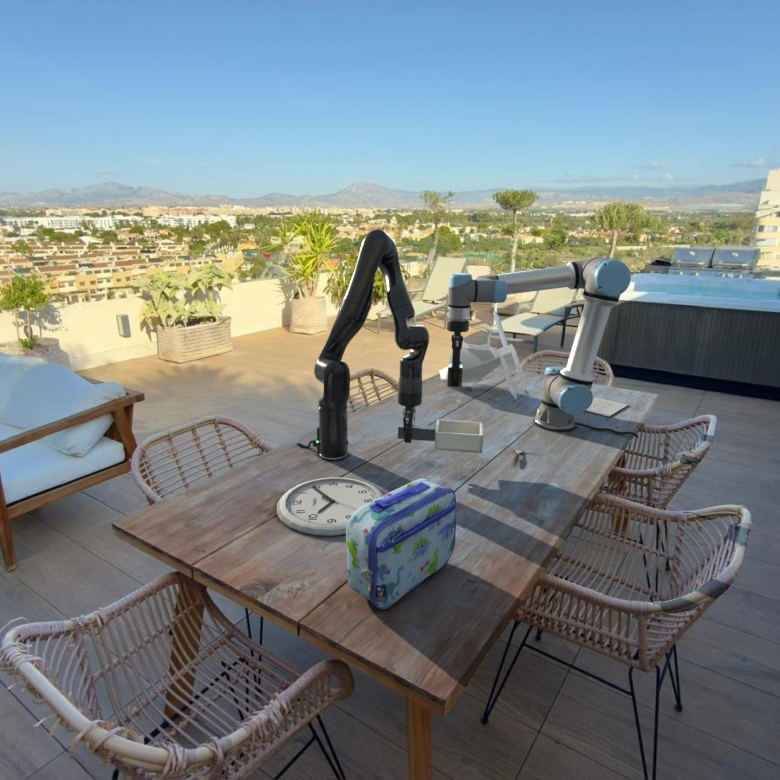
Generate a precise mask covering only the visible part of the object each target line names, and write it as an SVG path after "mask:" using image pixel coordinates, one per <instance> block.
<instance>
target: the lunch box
mask: <svg viewBox="0 0 780 780" xmlns="http://www.w3.org/2000/svg"><path fill="white" fill-rule="evenodd" d="M456 498H457V496H456V493H455V491H454V489H452V488H450V487H443V486H441V485H439V484H438V483H436V482H433V481H432V480H430V479H427V478H423V477H422V478H418V479H416V480H413V481H411V482H409V483H406V484H405V485H402V486H400V487H398V488H396V489H394V490H392V491H390V492H388V493H386V494H384V496H382V497H380V498H378V499H376V500H374V501H372V502H370V503H368V504H366V505H364V506H362V507H360V508H358V509H357V510H356V511H355V512H354V513H353V514H352V515H351V517H350V519H349V521H348V524H347V528H346V534H345V547H346V549H345V550H346V572H347V573H346V575H347V584H348V587H349V589H350V590H351V591H353V592H355V593H357V594H358V595H361V596H363V597H364V598H365V599H367V600H368V601H369V602H371V604H372V605H373V606H374V607H376V608H377V609H380V610H386V609H389V608H391V607H393V605H395V603H397V602H398V601H399V600H400V599H402V598H403V597H404V596H405V595H408V593H410V592H411V591H412V590H413V589H415V588H416V587H417V586H419V585H420V584H421V583H423V581H424V580H425V579H427V578H428V577H430V576H431V575H433V574H435V573H437V572H438V571H439V570H441V569H442V568H443V567H444V566H446V564H447V563H448V562H449V560H450V559H451V556H452V555H453V552H454V548H455V544H456V531H457V530H456V529H457V499H456Z"/></svg>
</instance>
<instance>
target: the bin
mask: <svg viewBox="0 0 780 780" xmlns="http://www.w3.org/2000/svg"><path fill="white" fill-rule="evenodd" d="M483 427H484V426H483V422H482V421H470V420H469V421H468V420H452V419H440V418H439V419H438V418H437V419H436V424H435V425H422V424H414V425H412V438H411V441H423V442H424V441H425V442H434V450H435V451H444V452H445V451H447V452H459V453H460V452H462V453H473V454H474V453H475V454H483V447H484V446H483V445H484V429H483ZM406 428H408V427H406ZM403 429H404V427H403V423H398V426H397V439H398V440H404V437H405V432H404V431H403Z"/></svg>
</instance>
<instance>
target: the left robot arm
mask: <svg viewBox="0 0 780 780" xmlns="http://www.w3.org/2000/svg"><path fill="white" fill-rule="evenodd" d="M360 245H361V246H360V249H359V252H358V256H357V260H356V264H355V267H354V270H353V273H352V275H351V279H350V281H349V283H348V286H347V287H346V288H347V289H346V291H345V293H344V296H343V298H342V301H341V302H340V306H339V309H338V311H337V314H336V317H335V319H334V321H333V325H332V327H331V329H330V332H329V335H328V337H327V339H326V341H325V343H324V346H323V347H322V349H321V351H320V353H319V355H318V357H317V359H316V361H315V364H314V366H313V374H314V377H315V378H316V380H317V381H318V382H319V383H321V384H323V392H322V393H323V394H322V395H321V396H319V398H318V427H316V438H313V439H312V440H310V441H309V442H308V445H304V444H302V443H299V442H298V443H296V445H297V446H299V447H301V448H304V449H309V448H310V447H311V445H312V447H314V448H316V451H317V456H319V457H320V458H322V459H323V460H326V461H339V460H342V459H345V458H346V457H348V455H349V451H348V449H349V448H348V446H349V439H348V401H349V398H350V395H351V392H350V391H351V370H350V367H349V365H348V363H347V362H345V361H344V360H343V357H344V354H345V352H346V349H347V347H348V345H349V344H350V343H351V342H352V340H353V339H354V338H355V337H356V335H357V334H358V333H359V332H360V331H361V330H362V328H363V327H364V326H365V324H366V322H367V319H368V316H369V314H370V312H371V309H372V305H373V300H374V283H375V282H374V281H375V277H376V273H377V271H378V270H379V271H380V273H381V275H382V278H383V281H384V288H385V297H386V301H387V304H388V305H387V306H388V307H389V311H390V314H391V316H392V323H393V339H394V342H395V345H396V346H397V347H398V348H399V350H403V351H409V350H410V351H409V353H408V354H406V355H404V356H402V357H401V358H400V360H399V375H398V383H397V384H398V385H397V387H398V388H397V403H398V405H400V406H403V409H402V424H403V427H404V429H403V431H404V432H405V437H404V439H403V440H404V441H403V442H404V443H405V444H411V443H412V440H411V438H412V425H415V421H416V413H417V408H416V407H418V406H421V405H422V404H423V402H422V401H423V364H424V360H425V357H426V354H427V350H428V347H429V343H430V333H429V330H428V329H427V327H425V326H424V325H420V324H418V325H408V322H411V321H412V320H413V319H414V318H415V316H416V310H415V308H414V305H413V302H412V299H411V297H410V294H409V292H408V288H407V286H406V283H405V280H404V277H403V272H402V269H401V264H400V258H399V253H398V248H397V244H396V242H395V240H394V239H393V238H392V237H391V236H390V235H389V234H388V233H387V232H385V230H383V229H380V228H374V229H372V230H370V231H368V232H367V234H366V235H365V236H364V238H363V240H362V242H361V244H360ZM406 427H408V428H406Z"/></svg>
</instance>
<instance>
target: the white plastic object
mask: <svg viewBox="0 0 780 780" xmlns="http://www.w3.org/2000/svg"><path fill="white" fill-rule="evenodd" d="M492 315H493V319H494V321H495V324H496V325H495V326H496V328H497V332H498V335H499V338H500V342H501V345H502V347H500V348H498V349H496V350H495V349H493V348H492V347H491V346H490V344H489V343H488V342H487V343H483V344H479V345H473V346H469V345H468V343H466V342H465V340H464V339H463V342H462V349H461V350H460V362H461V364H460V365H463V372H462V384H467V383H468V384H469V383H473V384H477V383H480V382H482V381H484V378H485V377H486V376H487V375H489V374H490V373H492V372H494V371H495V370H496V369H497V368H499V367H500V366H502V370H503V373H504V376H505V380H506V383H507V386H508V390H509V393H510V394H511V395H512V397H513V398H514V399H515V400H517V392H516V391H517V390H516V388H515V385H514V381H513V378H512V375H511V371H510V369H509V365H508V361H510V360H513V363H514V366H515V369H516V372H517V376H518V380H519V382H520V385H521V389H522V391H523V393H524V395H525V396H526V397H528V396H531V395H530V390H529V388H528V387H529V386H528V384H527V381H526V378H525V375H524V371H523V369H522V368H523V367H522V366H521V362H520V359H519V355H518V352H517V349H516V347H515V346H514V345H513V343H511V344H508V341H507V337H506V334H505V331H504V328H503V325H502V321H501V318H500V315H499V314H498V312H497V311H496V310H495V311H492ZM452 357H453V349H452V348H451V353H450V357H449V362H448V364H452ZM438 372H439V376H440V381H442V383H443V384H444V385H445V386H447V382H448V366H446V367H444V368H442V369H440V370H439V371H438Z"/></svg>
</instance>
